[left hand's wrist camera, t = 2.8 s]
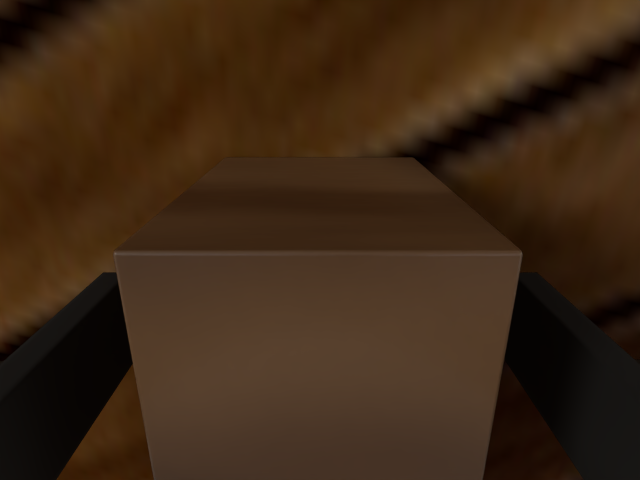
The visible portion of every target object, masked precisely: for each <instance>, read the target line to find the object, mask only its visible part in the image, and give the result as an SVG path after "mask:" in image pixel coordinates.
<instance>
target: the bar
mask: <svg viewBox="0 0 640 480" xmlns="http://www.w3.org/2000/svg"><path fill="white" fill-rule="evenodd" d="M113 256H114V262H115V267H116V273H117V278H118V284H119V289H120V295H121V300H122V306H123V311H124V317H125V322H126V328H127V333H128V339H129V344H130V350H131V355H132V361H133V366H134V372H135V377H136V383H137V388H138V394H139V399H140V405H141V410H142V416H143V421H144V427H145V432H146V438H147V443H148V449H149V454H150V460H151V465H152V471H153V476H154V480H483V475H484V470H485V464H486V458H487V453H488V447H489V442H490V436H491V430H492V425H493V419H494V414H495V408H496V402H497V397H498V391H499V385H500V380H501V374H502V369H503V363H504V357H505V352H506V346H507V341H508V335H509V329H510V324H511V318H512V313H513V307H514V301H515V296H516V290H517V285H518V279H519V273H520V268H521V262H522V256H523V254H522V251H521V250H520V249H519V248H518V247H517V246H515V245H514V244H513V243H512V242H511V241H510V240H509V239H507V238H506V237H505V236H504V235H503V234H502V233H500V232H499V231H498V230H497V229H496V228H495V227H493V226H492V225H491V224H490V223H489V222H488V221H486V220H485V219H484V218H483V217H482V216H481V215H479V214H478V213H477V212H476V211H475V210H474V209H472V208H471V207H470V206H469V205H468V204H467V203H466V202H464V201H463V200H462V199H461V198H460V197H459V196H457V195H456V194H455V193H454V192H453V191H452V190H450V189H449V188H448V187H447V186H446V185H445V184H443V183H442V182H441V181H440V180H439V179H438V178H436V177H435V176H434V175H433V174H432V173H431V172H429V171H428V170H427V169H426V168H425V167H424V166H423V165H421V164H420V163H419V162H418V161H417V160H416V159H414V158H369V157H226V158H224V159H223V160H222V161H221V162H220V163H218V164H217V165H216V166H215V167H214V168H212V169H211V170H210V171H209V172H208V173H207V174H205V175H204V176H203V177H202V178H201V179H199V180H198V181H197V182H196V183H195V184H193V185H192V186H191V187H190V188H189V189H187V190H186V191H185V192H184V193H183V194H181V195H180V196H179V197H178V198H177V199H175V200H174V201H173V202H172V203H171V204H169V205H168V206H167V207H166V208H165V209H163V210H162V211H161V212H160V213H159V214H157V215H156V216H155V217H154V218H153V219H151V220H150V221H149V222H148V223H147V224H146V225H144V226H143V227H142V228H141V229H140V230H138V231H137V232H136V233H135V234H134V235H132V236H131V237H130V238H129V239H128V240H126V241H125V242H124V243H123V244H122V245H120V246H119V247H118V248H117V249H116V250H114V254H113Z"/></svg>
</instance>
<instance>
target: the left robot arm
mask: <svg viewBox="0 0 640 480" xmlns="http://www.w3.org/2000/svg"><path fill="white" fill-rule="evenodd" d="M504 359H505V361H506V362H507V364H508V365H509V367H510V368H511V370H512V371H513V373H514V374H515V376H516V377H517V379H518V380H519V382H520V383H521V385H522V387H523V388H524V390H525V391H526V393H527V394H528V396H529V397H530V399H531V400H532V402H533V403H534V405H535V406H536V408H537V409H538V411H539V412H540V414H541V415H542V417H543V418H544V420H545V421H546V423H547V424H548V426H549V427H550V429H551V431H552V432H553V434H554V435H555V437H556V438H557V440H558V441H559V443H560V444H561V446H562V447H563V449H564V450H565V452H566V453H567V455H568V456H569V458H570V459H571V461H572V462H573V464H574V465H575V467H576V468H577V470H578V471H579V473H580V475H581V476H582V478H583V479H584V480H640V360H634V359H633V358H632V357H631V356H630V355H629V354H628V353H626V352H625V351H624V350H623V349H622V348H621V347H620V346H619V345H617V344H616V343H615V342H614V341H613V340H612V339H611V338H610V337H608V336H607V335H606V334H605V333H604V332H603V331H602V330H601V329H599V328H598V327H597V326H596V325H595V324H594V323H593V322H592V321H591V320H589V319H588V318H587V317H586V316H585V315H584V314H583V313H582V312H580V311H579V310H578V309H577V308H576V307H575V306H574V305H573V304H571V303H570V302H569V301H568V300H567V299H566V298H565V297H564V296H562V295H561V294H560V293H559V292H558V291H557V290H556V289H555V288H554V287H552V286H551V285H550V284H549V283H548V282H547V281H546V280H545V279H543V278H542V277H541V276H540V275H539V274H538V273H519V279H518V285H517V290H516V296H515V301H514V307H513V313H512V318H511V324H510V329H509V335H508V341H507V346H506V352H505V357H504ZM132 364H133V361H132V355H131V350H130V344H129V339H128V333H127V328H126V322H125V317H124V311H123V306H122V300H121V295H120V289H119V284H118V278H117V273H102V274H101V275H100V276H99V277H98V278H97V279H95V280H94V281H93V282H92V283H91V284H90V285H89V286H88V287H86V288H85V289H84V290H83V291H82V292H81V293H80V294H79V295H78V296H76V297H75V298H74V299H73V300H72V301H71V302H70V303H69V304H67V305H66V306H65V307H64V308H63V309H62V310H61V311H60V312H58V313H57V314H56V315H55V316H54V317H53V318H52V319H51V320H49V321H48V322H47V323H46V324H45V325H44V326H43V327H42V328H41V329H39V330H38V331H37V332H36V333H35V334H34V335H33V336H32V337H30V338H29V339H28V340H27V341H26V342H25V343H24V344H23V345H21V346H20V347H19V348H18V349H17V350H16V351H15V352H14V353H12V354H11V355H10V356H9V357H8V358H7V359H6V360H5V361H0V480H56V479H57V478H58V476H59V475H60V473H61V472H62V470H63V468H64V467H65V465H66V464H67V462H68V461H69V459H70V458H71V456H72V455H73V453H74V452H75V450H76V449H77V447H78V446H79V444H80V443H81V441H82V440H83V438H84V437H85V435H86V434H87V432H88V431H89V429H90V428H91V426H92V424H93V423H94V421H95V420H96V418H97V417H98V415H99V414H100V412H101V411H102V409H103V408H104V406H105V405H106V403H107V402H108V400H109V399H110V397H111V396H112V394H113V393H114V391H115V390H116V388H117V387H118V385H119V383H120V382H121V380H122V379H123V377H124V376H125V374H126V373H127V371H128V370H129V368H130V367H131V365H132Z"/></svg>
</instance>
